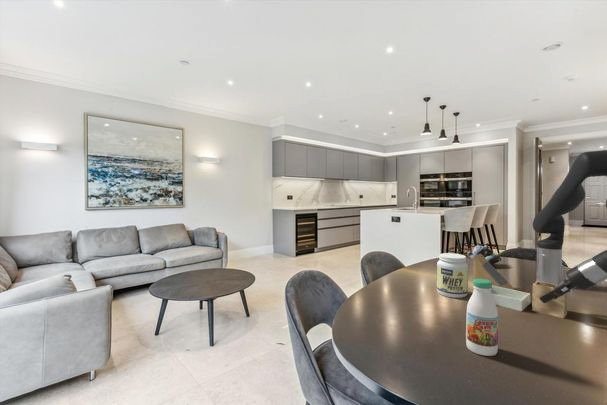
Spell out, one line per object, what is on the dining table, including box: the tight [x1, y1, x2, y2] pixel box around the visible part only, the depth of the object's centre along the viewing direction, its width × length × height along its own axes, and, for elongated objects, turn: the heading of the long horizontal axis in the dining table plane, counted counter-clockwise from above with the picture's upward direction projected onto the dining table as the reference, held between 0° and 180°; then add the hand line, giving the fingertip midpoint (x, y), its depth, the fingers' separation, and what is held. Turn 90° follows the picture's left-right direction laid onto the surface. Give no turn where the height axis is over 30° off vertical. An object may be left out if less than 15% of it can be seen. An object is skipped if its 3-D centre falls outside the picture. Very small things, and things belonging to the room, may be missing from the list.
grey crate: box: [491, 285, 531, 312], centre depth 119 cm, size 15×12×4 cm
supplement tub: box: [436, 252, 469, 299], centre depth 129 cm, size 12×12×17 cm
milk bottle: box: [465, 278, 499, 357], centre depth 84 cm, size 8×8×20 cm
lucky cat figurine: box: [467, 243, 502, 266], centre depth 176 cm, size 15×12×14 cm
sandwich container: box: [473, 254, 516, 290], centre depth 133 cm, size 9×15×15 cm, turn 39°
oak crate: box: [531, 280, 569, 319], centre depth 109 cm, size 9×6×10 cm, turn 40°
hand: (544, 298), depth 110 cm, fingers open, 7 cm apart
